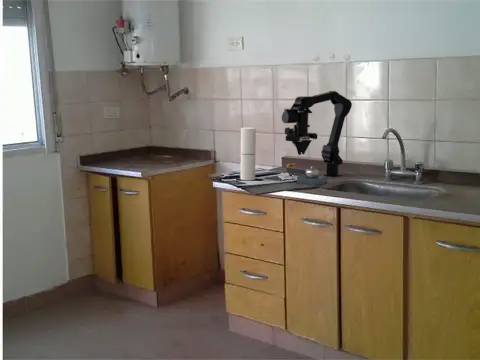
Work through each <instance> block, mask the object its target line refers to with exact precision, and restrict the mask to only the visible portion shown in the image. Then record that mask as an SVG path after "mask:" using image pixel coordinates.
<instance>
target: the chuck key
mask: <svg viewBox="0 0 480 360" xmlns="http://www.w3.org/2000/svg"><path fill="white" fill-rule="evenodd" d="M287 167H292V168H296V167H297V163H296V162H295V163H288V164H286V168H287ZM287 173H288V172H287ZM288 174H289V175H294V176H295V173H288ZM288 174H287V175H288Z"/></svg>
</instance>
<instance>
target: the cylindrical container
mask: <svg viewBox="0 0 480 360" xmlns="http://www.w3.org/2000/svg"><path fill="white" fill-rule="evenodd" d="M256 129H257V128H256V127H251V126H250V127H248V126H247V127H240V180H241V181H254V180H256V148H257V145H256V142H257V141H256V139H257V138H256V135H257V134H256V133H257V132H256V131H257V130H256Z"/></svg>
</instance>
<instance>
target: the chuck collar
mask: <svg viewBox="0 0 480 360" xmlns="http://www.w3.org/2000/svg"><path fill="white" fill-rule="evenodd" d="M286 173H294V175H300V176H304V175H305V176H306V177H319V176H320V170H319V169H317V168H315V166H310V168H307V169H305V168H298V167H294V168H292V167H287V166H286Z"/></svg>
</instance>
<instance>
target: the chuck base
mask: <svg viewBox="0 0 480 360" xmlns="http://www.w3.org/2000/svg"><path fill="white" fill-rule="evenodd" d="M327 179H328V176H325V175H319V177H306V176H305V175H300V176H297V177H296V183H297V184H300V185H307V186H313V187H317V186H321V185H324V184H328V183H327Z"/></svg>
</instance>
